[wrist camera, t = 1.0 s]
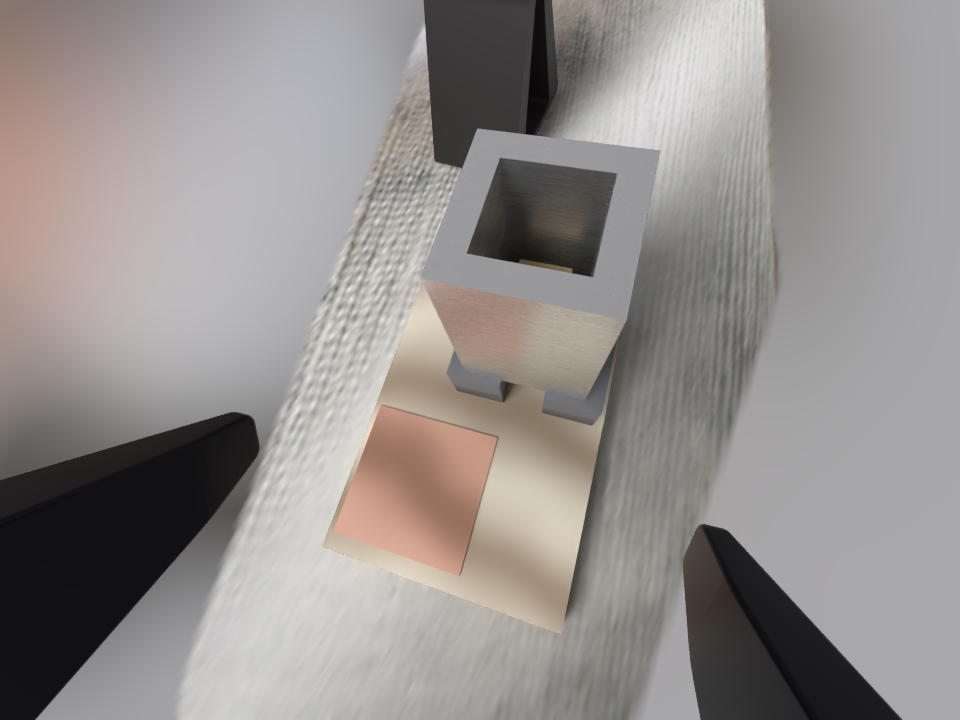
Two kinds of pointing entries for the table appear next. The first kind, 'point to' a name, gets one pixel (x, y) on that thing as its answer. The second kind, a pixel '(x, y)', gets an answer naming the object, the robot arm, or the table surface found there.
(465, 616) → the table surface
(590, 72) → the table surface
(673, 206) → the table surface
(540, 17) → the phone stand
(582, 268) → the steel sleeve
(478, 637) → the table surface
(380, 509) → the board
